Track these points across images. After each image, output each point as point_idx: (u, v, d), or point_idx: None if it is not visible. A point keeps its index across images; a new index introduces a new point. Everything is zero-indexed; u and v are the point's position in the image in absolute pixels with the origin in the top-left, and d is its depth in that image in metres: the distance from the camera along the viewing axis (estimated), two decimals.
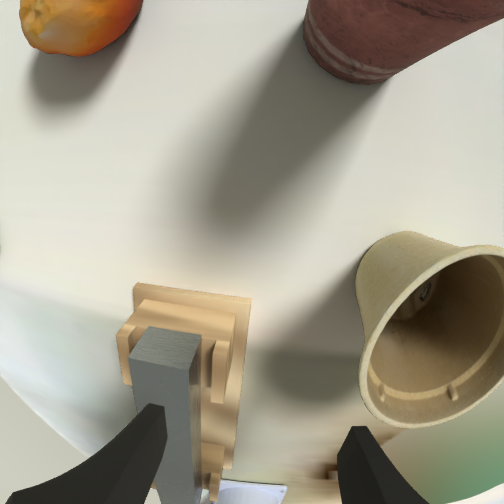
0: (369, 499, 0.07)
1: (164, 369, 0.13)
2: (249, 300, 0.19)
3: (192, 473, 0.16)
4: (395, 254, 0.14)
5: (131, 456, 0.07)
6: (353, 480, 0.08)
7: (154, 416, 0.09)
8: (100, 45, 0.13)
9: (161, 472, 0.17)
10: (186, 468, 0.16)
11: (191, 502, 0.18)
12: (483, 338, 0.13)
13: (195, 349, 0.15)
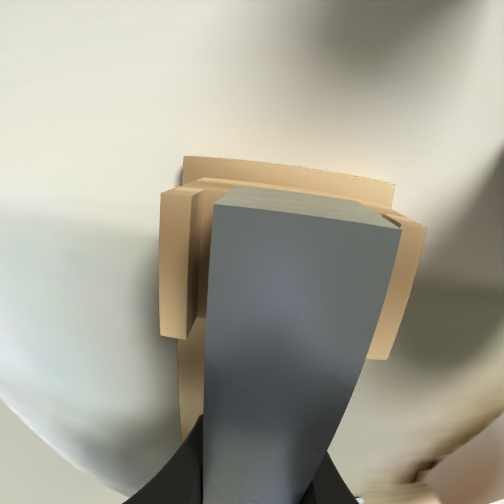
0: (307, 502, 0.07)
1: (330, 235, 0.05)
2: None
3: None
4: None
5: (198, 472, 0.07)
6: None
7: None
8: None
9: None
10: None
11: None
12: None
13: (370, 210, 0.06)
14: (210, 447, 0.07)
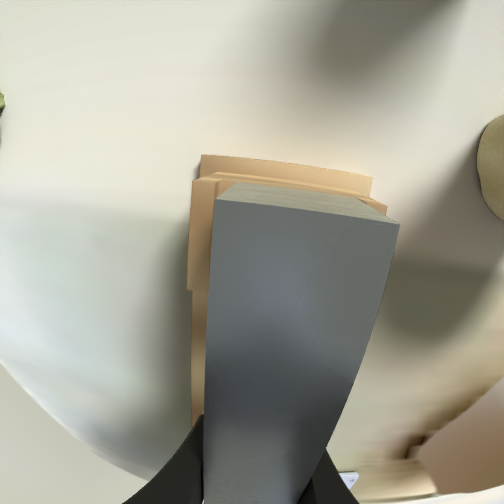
0: (307, 502, 0.07)
1: (329, 230, 0.05)
2: None
3: None
4: None
5: (198, 472, 0.07)
6: None
7: None
8: None
9: None
10: (282, 503, 0.08)
11: None
12: None
13: (369, 207, 0.06)
14: (211, 442, 0.07)
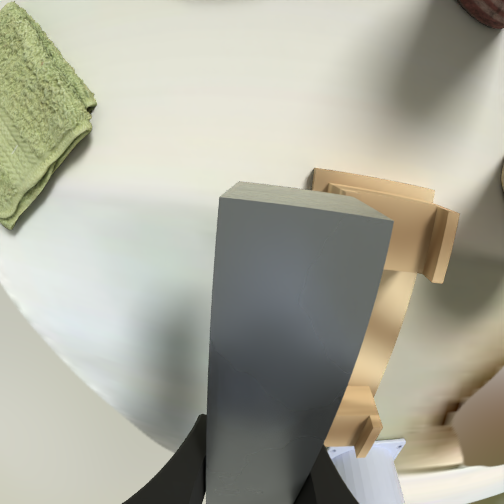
0: (307, 503, 0.07)
1: (327, 226, 0.05)
2: None
3: (291, 503, 0.08)
4: None
5: (197, 472, 0.07)
6: None
7: None
8: None
9: None
10: (283, 496, 0.08)
11: None
12: None
13: (366, 205, 0.07)
14: (213, 434, 0.07)
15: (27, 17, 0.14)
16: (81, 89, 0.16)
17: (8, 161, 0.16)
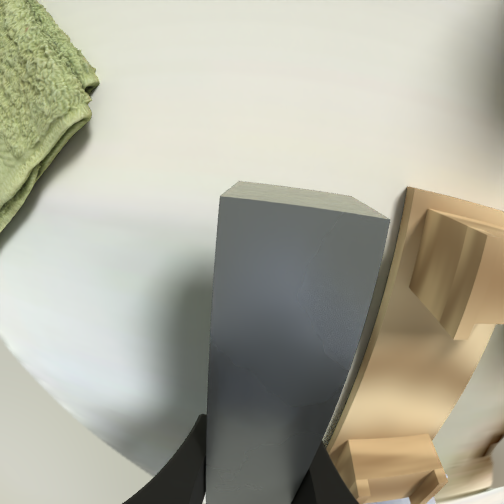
0: (307, 502, 0.07)
1: (324, 225, 0.05)
2: None
3: (291, 499, 0.08)
4: None
5: (198, 472, 0.07)
6: None
7: None
8: None
9: (226, 503, 0.08)
10: (282, 492, 0.08)
11: None
12: None
13: (363, 204, 0.07)
14: (213, 430, 0.07)
15: None
16: (78, 61, 0.10)
17: None
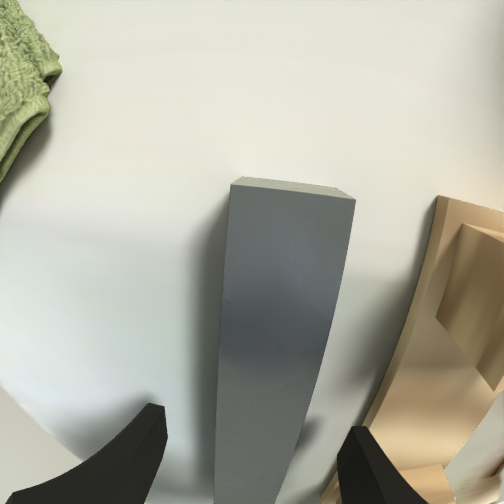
0: (369, 499, 0.07)
1: (306, 203, 0.07)
2: None
3: (290, 456, 0.10)
4: None
5: (131, 456, 0.07)
6: (353, 479, 0.08)
7: (154, 416, 0.09)
8: None
9: (233, 461, 0.10)
10: (283, 447, 0.10)
11: None
12: None
13: (340, 191, 0.09)
14: (223, 379, 0.09)
15: None
16: (38, 47, 0.08)
17: None
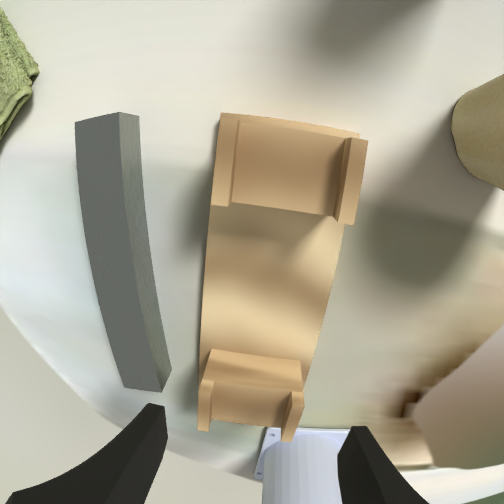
0: (369, 499, 0.07)
1: (100, 120, 0.14)
2: None
3: (136, 284, 0.17)
4: (493, 79, 0.11)
5: (131, 456, 0.07)
6: (353, 480, 0.08)
7: (154, 416, 0.09)
8: None
9: (107, 296, 0.18)
10: (128, 274, 0.17)
11: (148, 359, 0.19)
12: None
13: None
14: (85, 220, 0.16)
15: None
16: (26, 60, 0.14)
17: None
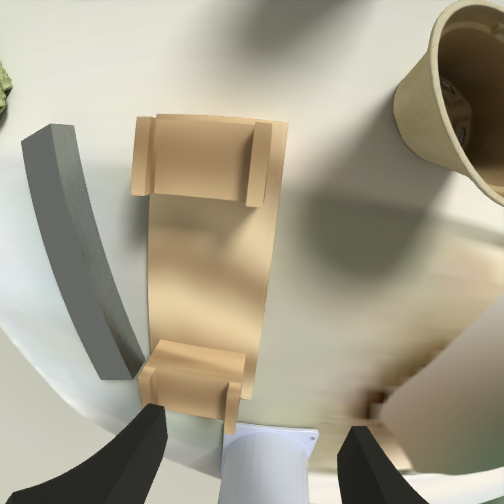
0: (369, 499, 0.07)
1: (38, 134, 0.15)
2: None
3: (86, 271, 0.18)
4: None
5: (131, 456, 0.07)
6: (353, 480, 0.08)
7: (154, 416, 0.09)
8: None
9: (66, 288, 0.18)
10: (78, 262, 0.17)
11: (112, 345, 0.19)
12: None
13: (65, 125, 0.17)
14: (39, 222, 0.17)
15: None
16: (1, 76, 0.16)
17: None
